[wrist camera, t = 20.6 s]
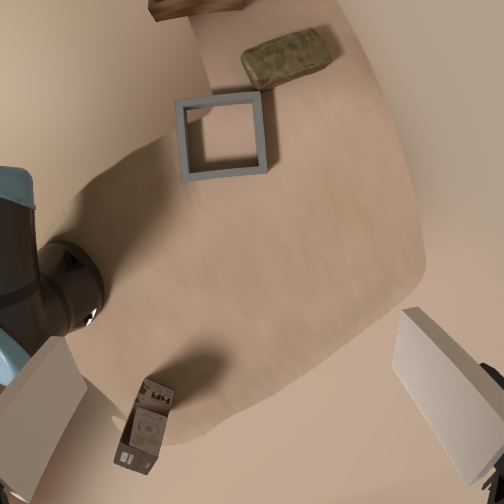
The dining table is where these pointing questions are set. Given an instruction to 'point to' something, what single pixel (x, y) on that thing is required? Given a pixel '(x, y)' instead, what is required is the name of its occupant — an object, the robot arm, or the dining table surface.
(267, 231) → the dining table surface
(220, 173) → the tray
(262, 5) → the dining table surface
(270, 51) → the stone block
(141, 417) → the coffee box
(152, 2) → the walnut bin
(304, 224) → the dining table surface
